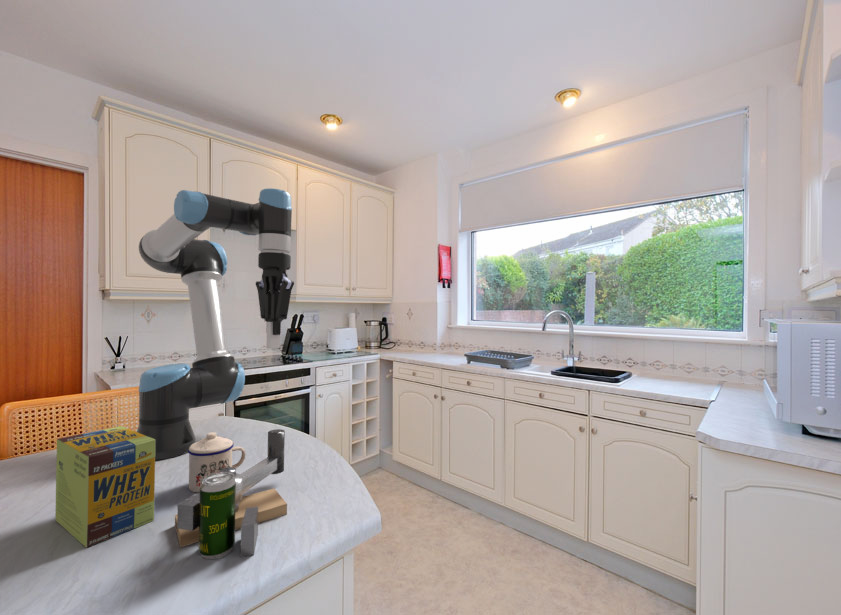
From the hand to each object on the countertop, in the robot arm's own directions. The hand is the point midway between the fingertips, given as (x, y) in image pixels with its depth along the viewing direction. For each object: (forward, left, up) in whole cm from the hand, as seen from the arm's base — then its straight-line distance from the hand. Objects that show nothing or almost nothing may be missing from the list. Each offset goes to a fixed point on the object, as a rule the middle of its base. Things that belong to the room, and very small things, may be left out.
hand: (273, 347), depth 97 cm
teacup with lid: (0, -12, -31) cm, 33 cm away
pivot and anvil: (+24, -13, -30) cm, 41 cm away
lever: (+16, -11, -27) cm, 34 cm away
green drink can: (+27, -17, -31) cm, 44 cm away
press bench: (+19, -14, -30) cm, 38 cm away
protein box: (+5, -32, -31) cm, 45 cm away
